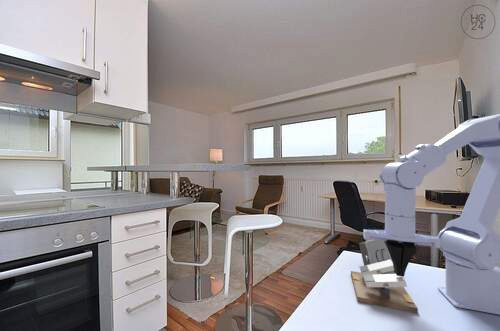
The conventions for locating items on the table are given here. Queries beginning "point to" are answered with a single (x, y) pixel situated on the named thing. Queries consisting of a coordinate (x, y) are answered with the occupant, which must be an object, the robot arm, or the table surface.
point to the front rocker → (384, 280)
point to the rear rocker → (377, 268)
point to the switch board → (377, 298)
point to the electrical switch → (374, 251)
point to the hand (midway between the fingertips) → (399, 274)
